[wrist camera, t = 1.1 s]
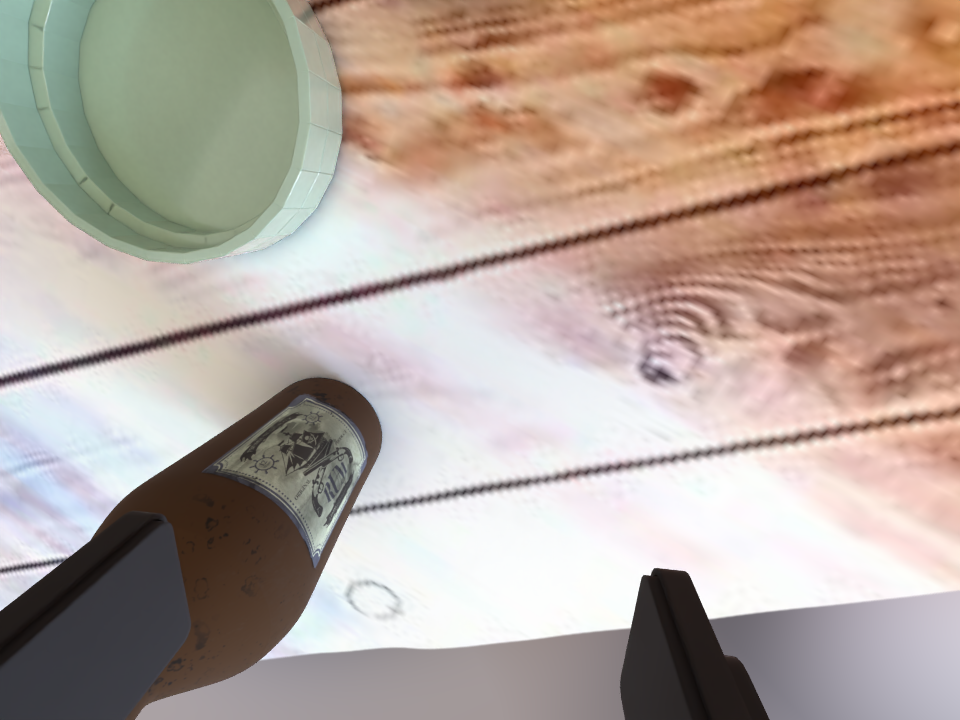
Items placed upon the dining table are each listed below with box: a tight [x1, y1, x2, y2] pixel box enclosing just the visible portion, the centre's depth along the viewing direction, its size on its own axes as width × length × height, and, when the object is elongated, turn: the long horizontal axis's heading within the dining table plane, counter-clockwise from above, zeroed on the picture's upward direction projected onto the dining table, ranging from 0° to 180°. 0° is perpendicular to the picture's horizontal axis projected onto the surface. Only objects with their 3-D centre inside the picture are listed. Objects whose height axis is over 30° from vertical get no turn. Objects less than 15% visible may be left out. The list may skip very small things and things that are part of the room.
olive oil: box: [91, 378, 382, 720], centre depth 27 cm, size 11×11×25 cm
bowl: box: [0, 0, 342, 264], centre depth 29 cm, size 19×19×6 cm
